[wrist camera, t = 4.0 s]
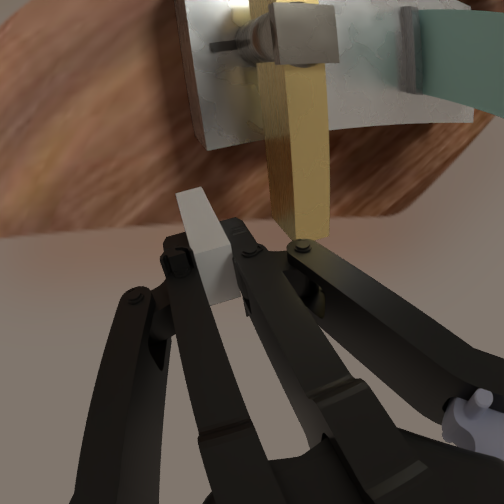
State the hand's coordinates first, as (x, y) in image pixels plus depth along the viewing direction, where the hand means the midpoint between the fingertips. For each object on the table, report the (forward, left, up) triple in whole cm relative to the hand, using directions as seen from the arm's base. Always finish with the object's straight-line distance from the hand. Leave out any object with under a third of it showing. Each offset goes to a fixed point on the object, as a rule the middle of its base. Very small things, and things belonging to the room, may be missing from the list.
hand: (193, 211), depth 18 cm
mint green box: (-22, -9, -1) cm, 23 cm away
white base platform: (-14, -9, -6) cm, 18 cm away
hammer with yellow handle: (-6, -5, -1) cm, 8 cm away
